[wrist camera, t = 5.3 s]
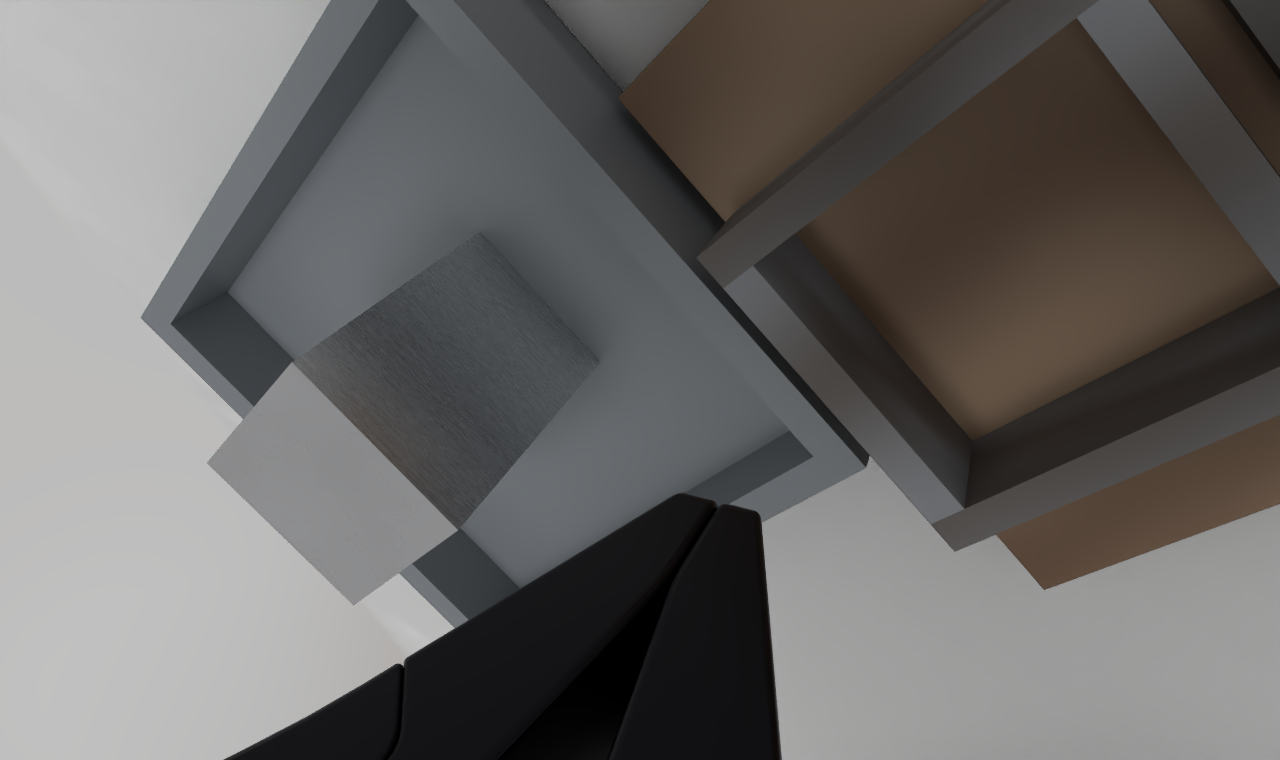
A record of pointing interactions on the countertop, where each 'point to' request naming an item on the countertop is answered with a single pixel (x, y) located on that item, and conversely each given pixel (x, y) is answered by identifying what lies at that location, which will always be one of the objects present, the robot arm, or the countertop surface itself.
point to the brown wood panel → (1006, 247)
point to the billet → (405, 417)
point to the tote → (531, 242)
